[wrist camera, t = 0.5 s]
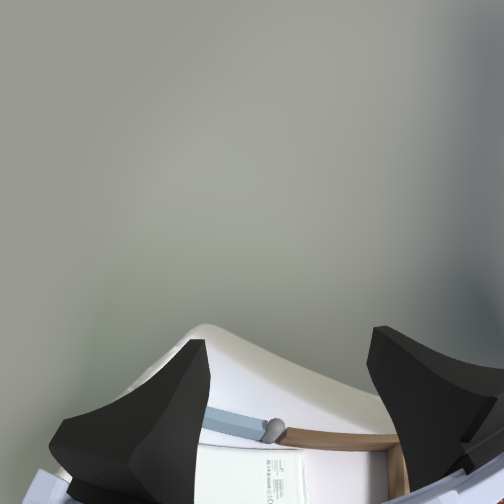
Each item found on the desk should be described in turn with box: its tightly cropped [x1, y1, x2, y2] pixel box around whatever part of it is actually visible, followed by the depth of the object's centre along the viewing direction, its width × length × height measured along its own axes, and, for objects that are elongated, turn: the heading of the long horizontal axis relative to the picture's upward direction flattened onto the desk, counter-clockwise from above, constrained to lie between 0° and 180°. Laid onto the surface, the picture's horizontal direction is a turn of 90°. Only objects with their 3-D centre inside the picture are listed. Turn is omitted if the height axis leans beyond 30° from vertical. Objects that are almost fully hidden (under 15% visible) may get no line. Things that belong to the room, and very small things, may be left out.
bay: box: [279, 427, 410, 501], centre depth 17 cm, size 14×16×4 cm
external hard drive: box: [194, 444, 309, 504], centre depth 18 cm, size 2×8×12 cm
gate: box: [202, 406, 285, 444], centre depth 23 cm, size 12×2×4 cm, turn 80°
